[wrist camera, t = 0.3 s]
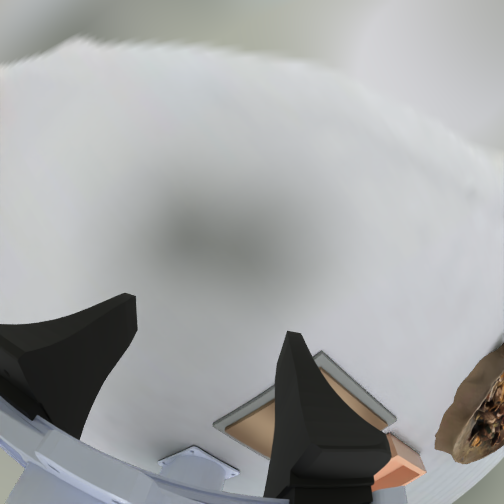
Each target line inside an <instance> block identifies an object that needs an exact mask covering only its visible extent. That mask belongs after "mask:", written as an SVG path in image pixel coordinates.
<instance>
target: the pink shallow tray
mask: <svg viewBox="0 0 504 504" xmlns="http://www.w3.org/2000/svg"><path fill="white" fill-rule="evenodd" d="M386 436H387V439H388V441H389V445H390V450H391V455H392V457H391V460H390V461H389V462H388V464H387V465H386V466H385V467H384V468H382V469H381V470H380V471H379V472H378V473H376V474H375V475H374V482H375V483H374V485H372V486H371V489H372V492H373V491H376V490H380V489H385V488H392V487H398V486H405V485H407V484H408V483H410V482H412V481H414V480H415V479H417V478H419V477H420V476H422V475H423V474H425V473H427V472H426V470H425V467H424V465H423V462H422V460H421V457H420V455H419V454H418V453H417V452H415V451H414V450H413V449H411V448H410V447H408V446H407V445H406V444H404V443H403V442H402V441H400V440H399V439H398V438H396V437H395V436H394V435H392V434H391V433H390V432H389V433H388V434H386Z"/></svg>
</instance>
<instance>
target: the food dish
mask: <svg viewBox="0 0 504 504" xmlns="http://www.w3.org/2000/svg"><path fill="white" fill-rule="evenodd" d="M435 437H436V440H435V449H436V450H440V451H444V452H447V453H449V454H451V455H452V456H453V459H454V460H455V462H458V463H461V464H468V463H471V462H474V461H477V460H480V459H482V458H484V457H486V456H488V455H489V454H491V453H493V452H495V451H497V450H498V449H499V448H501V447H502V446H503V445H504V343H503V345H502V346H501V347H499V348H498V349H497V350H496V351H494V352H491V353H489V354H488V355H486V356H485V357H484V358H482V359H481V360H480V361H479V363H478V364H477V365H476V366H475V368H474V369H473V371H472V372H471V373H470V374H469V375H468V377H467V378H466V379H465V380H464V381H463V382H462V383H461V385H460V386H459V387H458V389H457V392H456V395H455V397H454V402H453V404H452V405H451V406H450V407H449V408H448V410H447V411H446V412H445V414H444V416H443V418H442V421H441V424H440V428H439V430H438V432H437V433H436V435H435Z"/></svg>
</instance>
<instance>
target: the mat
mask: <svg viewBox="0 0 504 504" xmlns="http://www.w3.org/2000/svg"><path fill="white" fill-rule="evenodd" d="M313 359H314V360H315V362H316V364H317V366H318V367H322V368H323V369H324V370H325V371H326V372H327V373H329V374H330V375H331V376H332V377H333V378H334V379H335V380H337V381H338V382H339V383H340V384H341V385H342V386H344V387H345V388H346V389H347V390H348V391H350V392H351V393H352V394H353V395H354V396H355V397H357V398H358V399H359V400H360V401H361V402H363V403H364V404H365V405H366V406H367V407H369V408H370V409H371V410H372V411H374V412H375V413H376V414H377V415H378V416H380V417H381V418H382V419H383V420H385V421H386V422H387V424H388V426H390V425H391V424H393V423H394V422H396V421H397V419H396V417H395V416H394V415H392V414H391V413H390V412H389V411H388V410H387V409H386V408H384V407H383V406H382V405H381V404H380V403H379V402H378V401H376V400H375V399H374V398H373V397H372V396H371V395H370V394H369V393H367V392H366V391H365V390H364V389H363V388H362V387H361V386H360V385H358V384H357V383H356V382H355V381H354V380H353V379H352V378H351V377H350V376H348V375H347V374H346V373H345V372H344V371H343V370H342V369H341V368H340V367H339V366H337V365H336V364H335V363H334V362H333V361H332V360H331V359H330V358H329V357H328V356H326V355H325V354H324V353H323V352H322V351H321V352H320V353H318V354H317V355H316V356H314V357H313ZM274 398H275V385H274V386H273V387H271V388H270V389H268V390H267V391H265V392H264V393H262V394H261V395H259V396H258V397H256V398H254V399H253V400H251V401H250V402H248V403H247V404H245V405H243V406H242V407H240V408H238V409H237V410H235V411H233V412H232V413H230V414H228V415H227V416H225V417H223V418H222V419H220V420H218V421H216V422H215V423H213V427H215V428H216V429H218V430H219V431H221V432H222V433H224V434H225V435H227V436H229V437H230V438H232V439H233V440H235V441H237V442H238V443H240V444H242V445H243V446H245V447H247V448H248V449H250V450H252V451H254V452H255V453H257V454H259V455H261V456H263V457H264V458H266V459H268V460H270V458H269V457H267V456H265V455H263V454H261V453H260V452H258V451H256V450H254V449H253V448H251V447H249V446H247V445H246V444H244V443H242V442H241V441H239V440H237V439H236V438H234V437H233V436H231V435H230V434H228V433H226V432H225V427H227V426H229V425H231V424H232V423H234V422H236V421H238V420H240V419H241V418H243V417H245V416H246V415H248V414H250V413H252V412H253V411H255V410H257V409H258V408H260V407H261V406H263V405H265V404H266V403H268V402H270V401H271V400H273V399H274ZM388 426H387V427H388ZM387 427H385V428H387ZM385 428H384V429H385ZM384 429H382V430H384ZM382 430H381V431H382Z"/></svg>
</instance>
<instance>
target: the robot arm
mask: <svg viewBox="0 0 504 504" xmlns="http://www.w3.org/2000/svg"><path fill="white" fill-rule="evenodd" d="M137 330H138V328H137V313H136V296H134V295H131V294H127V293H123V294H120V295H118V296H115V297H113V298H111V299H108V300H106V301H104V302H102V303H99V304H97V305H95V306H92V307H90V308H88V309H85V310H82V311H80V312H77V313H75V314H72V315H69V316H65V317H62V318H58V319H54V320H49V321H44V322H39V323H31V324H17V325H14V324H0V447H1V448H2V449H3V450H4V451H5V452H6V453H8V454H9V455H10V456H11V457H12V458H13V459H15V460H16V461H17V462H18V463H19V464H20V465H22V466H23V467H24V468H25V470H24V471H23V473H22V475H21V476H20V478H19V480H18V481H17V483H16V485H15V486H14V488H13V490H12V491H11V493H10V495H9V497H8V499H7V500H6V502H5V504H408V502H407V496H406V491H405V486H398V487H392V488H385V489H380V490H376V491H373V492H372V489H371V486H372V485H374V483H375V482H374V475H375V474H376V473H378V472H379V471H380V470H381V469H382V468H384V467H385V466H386V465H387V464H388V462H389V461H390V460H391V457H392V455H391V450H390V445H389V441H388V439H387V436H386V434H385V433H383V432H382V431H380V430H379V429H377V428H376V427H374V426H373V425H371V424H370V423H368V422H367V421H366V420H364V419H363V418H362V417H361V416H359V415H358V414H357V413H356V412H355V411H354V410H353V409H351V408H350V407H349V406H348V405H347V404H346V403H345V402H344V401H343V400H342V398H341V397H340V396H339V395H338V394H337V393H336V392H335V390H334V389H333V388H332V387H331V385H330V384H329V383H328V381H327V380H326V378H325V377H324V375H323V374H322V372H321V371H320V369H319V367H318V366H317V364H316V362H315V360H314V359H313V357H312V355H311V353H310V351H309V349H308V347H307V345H306V343H305V341H304V339H303V336H302V335H301V333H296V332H291V331H287V333H286V337H285V340H284V343H283V346H282V350H281V353H280V356H279V359H278V362H277V368H276V376H275V427H274V436H273V444H272V451H271V458H270V464H269V470H268V476H267V481H266V486H265V491H264V496H263V497H256V496H248V495H241V494H235V493H229V492H223V491H222V490H223V485H224V480H225V479H228V478H231V477H234V476H236V475H239V473H240V472H239V471H238V470H236V469H234V468H232V467H230V466H229V465H227V464H225V463H223V462H221V461H219V460H218V459H216V458H214V457H213V456H211V455H209V454H207V453H206V452H204V451H202V450H201V449H199V448H198V447H195V446H193V447H190V448H188V449H186V450H184V451H182V452H179V453H177V454H175V455H172V456H170V457H168V458H165V459H163V460H160V461H158V465H159V466H161V467H162V469H161V472H160V474H159V475H158V474H155V473H152V472H149V471H147V470H144V469H141V468H138V467H136V466H133V465H131V464H128V463H126V462H123V461H121V460H119V459H116V458H114V457H112V456H110V455H108V454H105V453H103V452H101V451H99V450H97V449H95V448H93V447H91V446H89V445H87V444H85V443H83V442H81V441H80V437H81V434H82V431H83V428H84V425H85V422H86V420H87V417H88V414H89V412H90V410H91V407H92V405H93V403H94V401H95V399H96V396H97V394H98V392H99V390H100V389H101V387H102V385H103V383H104V381H105V380H106V378H107V376H108V375H109V373H110V372H111V371H112V369H113V368H114V366H115V365H116V364H117V362H118V361H119V359H120V358H121V357H122V355H123V354H124V352H125V351H126V350H127V348H128V347H129V345H130V343H131V342H132V340H133V338H134V336H135V334H136V332H137Z"/></svg>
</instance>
